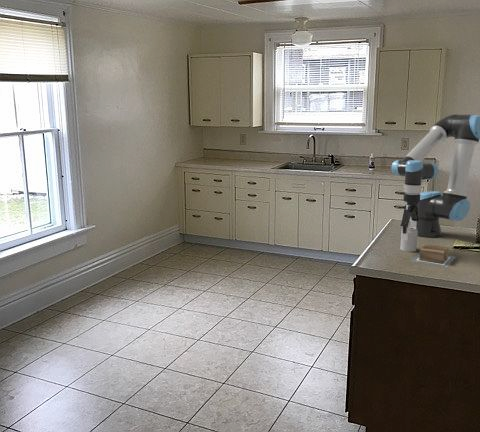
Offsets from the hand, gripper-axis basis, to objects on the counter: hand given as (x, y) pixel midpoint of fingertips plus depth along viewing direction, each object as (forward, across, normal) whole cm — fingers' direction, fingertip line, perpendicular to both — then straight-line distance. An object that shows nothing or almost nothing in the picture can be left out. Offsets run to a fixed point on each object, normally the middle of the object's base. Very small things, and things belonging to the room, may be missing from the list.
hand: (408, 236), depth 252 cm
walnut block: (+7, +8, +14) cm, 18 cm away
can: (+8, 0, 0) cm, 8 cm away
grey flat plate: (+7, +8, +14) cm, 18 cm away
